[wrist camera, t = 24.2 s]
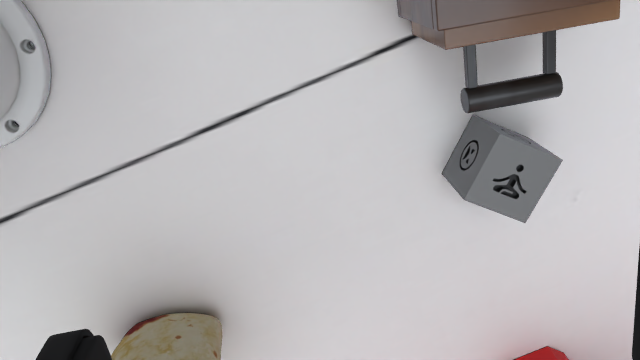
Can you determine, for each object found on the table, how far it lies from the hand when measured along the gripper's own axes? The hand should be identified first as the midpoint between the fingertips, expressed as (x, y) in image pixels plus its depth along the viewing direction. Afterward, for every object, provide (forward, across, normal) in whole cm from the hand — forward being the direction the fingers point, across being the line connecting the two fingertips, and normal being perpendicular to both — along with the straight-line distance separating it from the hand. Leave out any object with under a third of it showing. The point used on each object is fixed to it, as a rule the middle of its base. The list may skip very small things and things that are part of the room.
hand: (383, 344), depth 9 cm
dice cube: (+31, -13, +10) cm, 35 cm away
